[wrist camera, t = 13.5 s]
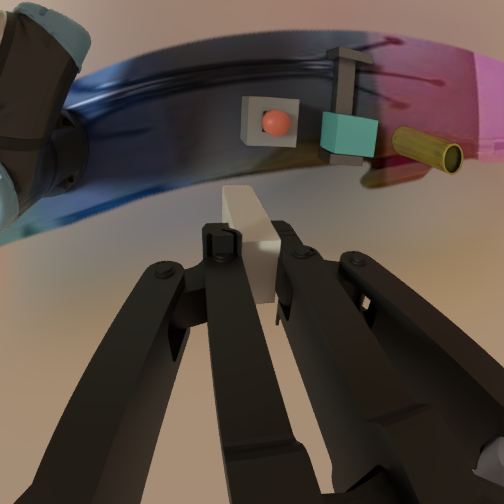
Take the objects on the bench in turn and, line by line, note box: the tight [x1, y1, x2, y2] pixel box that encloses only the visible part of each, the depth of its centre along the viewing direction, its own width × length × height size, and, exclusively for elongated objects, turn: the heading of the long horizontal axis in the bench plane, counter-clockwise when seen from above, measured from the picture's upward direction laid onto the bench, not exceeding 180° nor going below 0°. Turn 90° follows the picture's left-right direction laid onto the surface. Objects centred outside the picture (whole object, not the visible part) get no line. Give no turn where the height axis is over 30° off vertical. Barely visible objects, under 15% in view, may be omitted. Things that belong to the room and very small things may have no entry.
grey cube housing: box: [240, 96, 299, 147], centre depth 41 cm, size 7×7×7 cm
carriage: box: [320, 111, 378, 157], centre depth 43 cm, size 6×7×7 cm
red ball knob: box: [261, 110, 291, 137], centre depth 38 cm, size 4×4×5 cm
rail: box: [318, 47, 373, 166], centre depth 42 cm, size 19×6×5 cm, turn 177°
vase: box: [392, 126, 463, 175], centre depth 43 cm, size 6×6×14 cm
